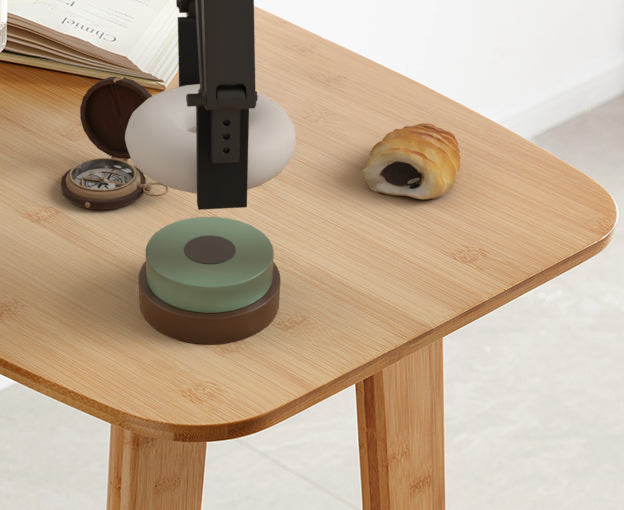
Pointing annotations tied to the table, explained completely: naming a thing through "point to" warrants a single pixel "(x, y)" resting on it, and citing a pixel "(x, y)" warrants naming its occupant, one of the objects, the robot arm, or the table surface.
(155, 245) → the ring stack
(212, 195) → the robot arm
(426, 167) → the pastry
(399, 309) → the table surface
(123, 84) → the compass
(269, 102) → the donut
